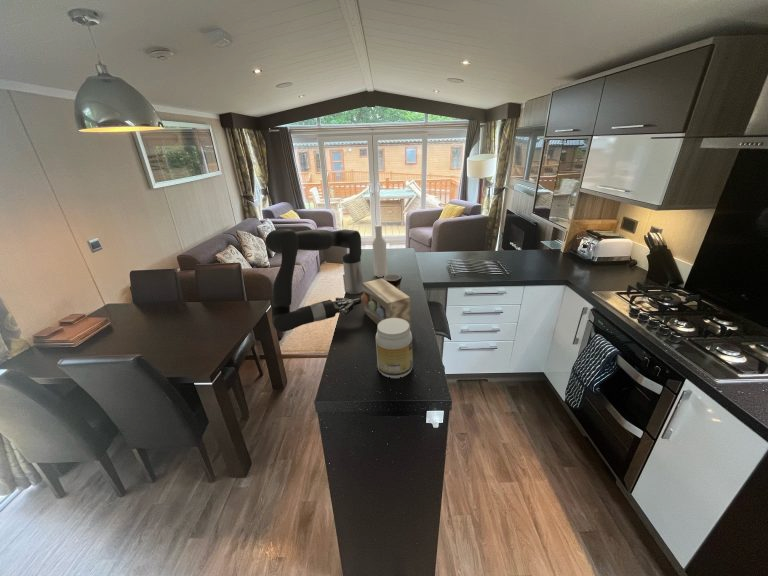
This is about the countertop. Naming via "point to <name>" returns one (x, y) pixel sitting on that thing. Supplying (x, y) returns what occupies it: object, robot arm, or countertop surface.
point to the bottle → (379, 253)
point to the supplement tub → (394, 348)
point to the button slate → (380, 313)
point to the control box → (386, 300)
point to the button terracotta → (365, 299)
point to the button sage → (372, 305)
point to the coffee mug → (393, 280)
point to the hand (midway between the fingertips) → (360, 300)
